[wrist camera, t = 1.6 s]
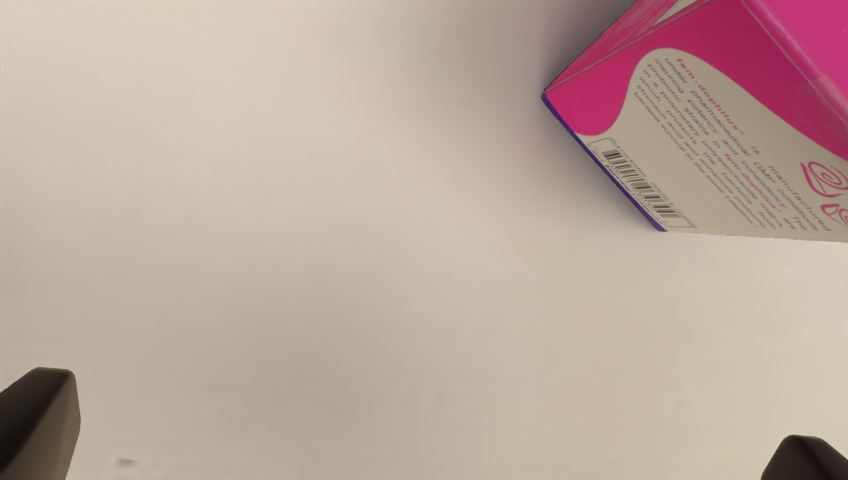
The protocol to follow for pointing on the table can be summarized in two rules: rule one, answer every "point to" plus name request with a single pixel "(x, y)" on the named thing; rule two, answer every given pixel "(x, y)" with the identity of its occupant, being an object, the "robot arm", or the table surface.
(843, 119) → the supplement box
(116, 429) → the table surface
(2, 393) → the robot arm
